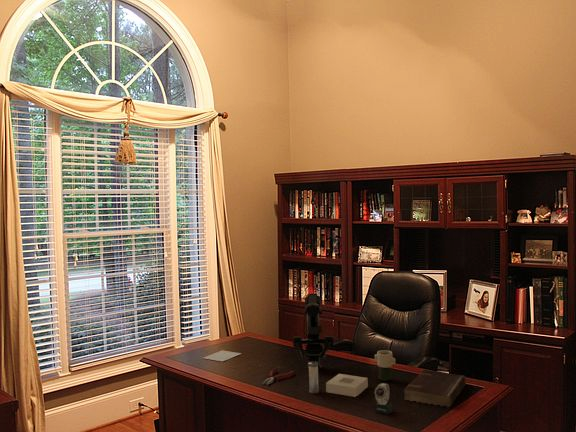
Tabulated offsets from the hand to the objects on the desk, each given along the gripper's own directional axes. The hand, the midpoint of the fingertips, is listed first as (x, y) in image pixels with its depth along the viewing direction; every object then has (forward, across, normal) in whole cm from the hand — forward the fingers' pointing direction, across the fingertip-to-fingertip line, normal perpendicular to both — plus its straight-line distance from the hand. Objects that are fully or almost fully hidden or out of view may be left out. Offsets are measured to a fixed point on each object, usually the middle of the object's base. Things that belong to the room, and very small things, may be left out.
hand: (313, 358), depth 243 cm
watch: (+30, +28, -12) cm, 43 cm away
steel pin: (+14, 0, +4) cm, 15 cm away
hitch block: (+12, +15, +6) cm, 20 cm away
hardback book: (+15, +53, +4) cm, 55 cm away
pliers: (+1, -20, +18) cm, 27 cm away
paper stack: (-21, -49, +40) cm, 67 cm away
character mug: (+3, +33, +15) cm, 36 cm away
